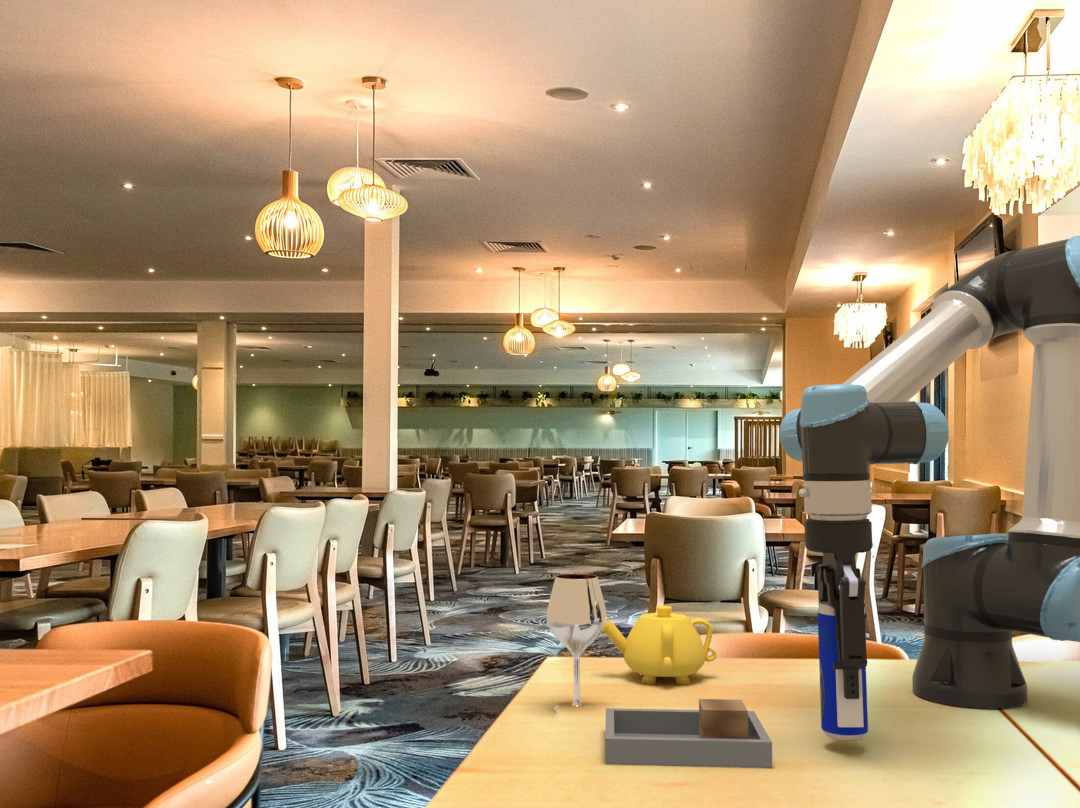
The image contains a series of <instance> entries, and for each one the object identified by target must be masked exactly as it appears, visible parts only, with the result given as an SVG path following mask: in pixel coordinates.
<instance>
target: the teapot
mask: <svg viewBox="0 0 1080 808" xmlns="http://www.w3.org/2000/svg"><path fill="white" fill-rule="evenodd" d="M655 609H656V612H649V613H645V614H644V613H643V614H641V615H640V616H639V617H638V619H637V620H636V621H635V622H634V625H633V626H632V628H631V630H630V631H629V633H628V635H627V638H626V637H625V636H624V635H623V633H622V632H621V631H620V629H618V627H617V626H616V624H614V622H613V621H612V619H609V620H608V621H606V625H605V628H604V630H603V631H602V633H604V634H605V635H606V636H607V638H608V639H609V640H610V641H611V642H612V643H613V644H614V646H615V647H616V648H617V649H618V650H619V652H620V654H622V655H623V660H624V662H625V663H626V665H627V666H628V668H629V669H631V671H632V672H634V673H635V674H638V675H639V674H641V675H644V676H642V679H641V680H640V683H641V682H642V683H641V684H643V683H647V684H646V685H653V683H654V684H656V681H657V677H658V678H660V677H661V678H662V677H663V678H674V679H675V682H676V684H679V685H691V684H692V681H691V680H690V678H689V676H693V675H695V674H697V673H698V672H699V671H700V669H701V668H702V667H703V666H704V664H705V663H706V662H707V663H709V662H713V661H715V660H716V658H717V651H716V649H715V648H713V647H710V645H711V642H712V638H713V626H712V624H711V623H710V622H709V621H708V620H706V619H704V618H702V617H695V618H693V619H690V618H689V617H688V615H685V614H681V613H676V612H675V613H673V612H672V610H673V607H672V606H671V605H657V606H655ZM671 612H672V613H671ZM696 624H702V625H704V626H705V628H706V636H705V641H704V644H703V641H702V637H701V636H700V634H699V632H698V630H697V628H696V627H695V626H694V625H696ZM709 652H711V653H712V654H711V655H710V656H709ZM641 675H640V676H641ZM651 683H652V684H651Z"/></svg>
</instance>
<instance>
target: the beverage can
mask: <svg viewBox="0 0 1080 808" xmlns="http://www.w3.org/2000/svg"><path fill="white" fill-rule="evenodd" d="M817 632H818V633H817V635H818V637H817V639H818V664H819V665H818V666H819V689H820V690H819V691H820V692H819V693H820V694H819V695H820V696H819V697H820V700H819V701H820V725H821V730H822V731H823V733H824V734H825V736H827V737H829V738H832V739H836V740H842V741H843V740H844V741H854V740H856V741H857V740H861V739H863V738H864V737H865V736H866V735H867V734H868V732H869V723H868V722H869V721H868V717H869V716H868V693H867V692H868V691H867V688H868V687H867V666H866V667H863V668H862V695H863V724H864V727H838V725H837V695H836V669H832V664H838V655H837V644H836V633H835V614H834V608H832V607H830V606H829V604H828V602H824V601H823V602H820V605H819V604H818V609H817ZM854 656H855V655H854Z"/></svg>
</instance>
